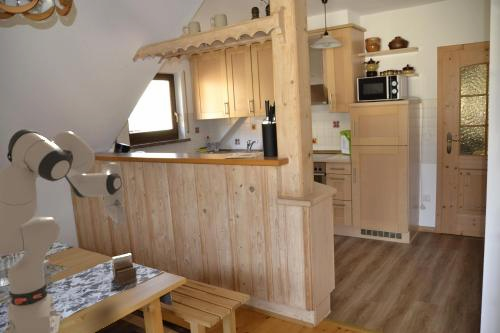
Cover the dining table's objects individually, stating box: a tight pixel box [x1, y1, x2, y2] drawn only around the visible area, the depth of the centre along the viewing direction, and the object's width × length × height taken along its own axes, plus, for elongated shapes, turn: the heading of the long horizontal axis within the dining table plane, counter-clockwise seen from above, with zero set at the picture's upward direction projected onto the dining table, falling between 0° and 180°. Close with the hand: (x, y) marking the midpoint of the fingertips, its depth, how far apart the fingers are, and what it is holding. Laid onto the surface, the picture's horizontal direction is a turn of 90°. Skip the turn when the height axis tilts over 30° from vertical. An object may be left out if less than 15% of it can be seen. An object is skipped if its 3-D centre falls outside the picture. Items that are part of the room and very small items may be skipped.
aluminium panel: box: [111, 252, 133, 278], centre depth 185 cm, size 2×8×9 cm, turn 120°
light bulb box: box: [43, 259, 53, 286], centre depth 180 cm, size 11×7×11 cm, turn 168°
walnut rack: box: [111, 262, 138, 286], centre depth 184 cm, size 9×8×6 cm
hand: (117, 228), depth 183 cm, fingers closed
